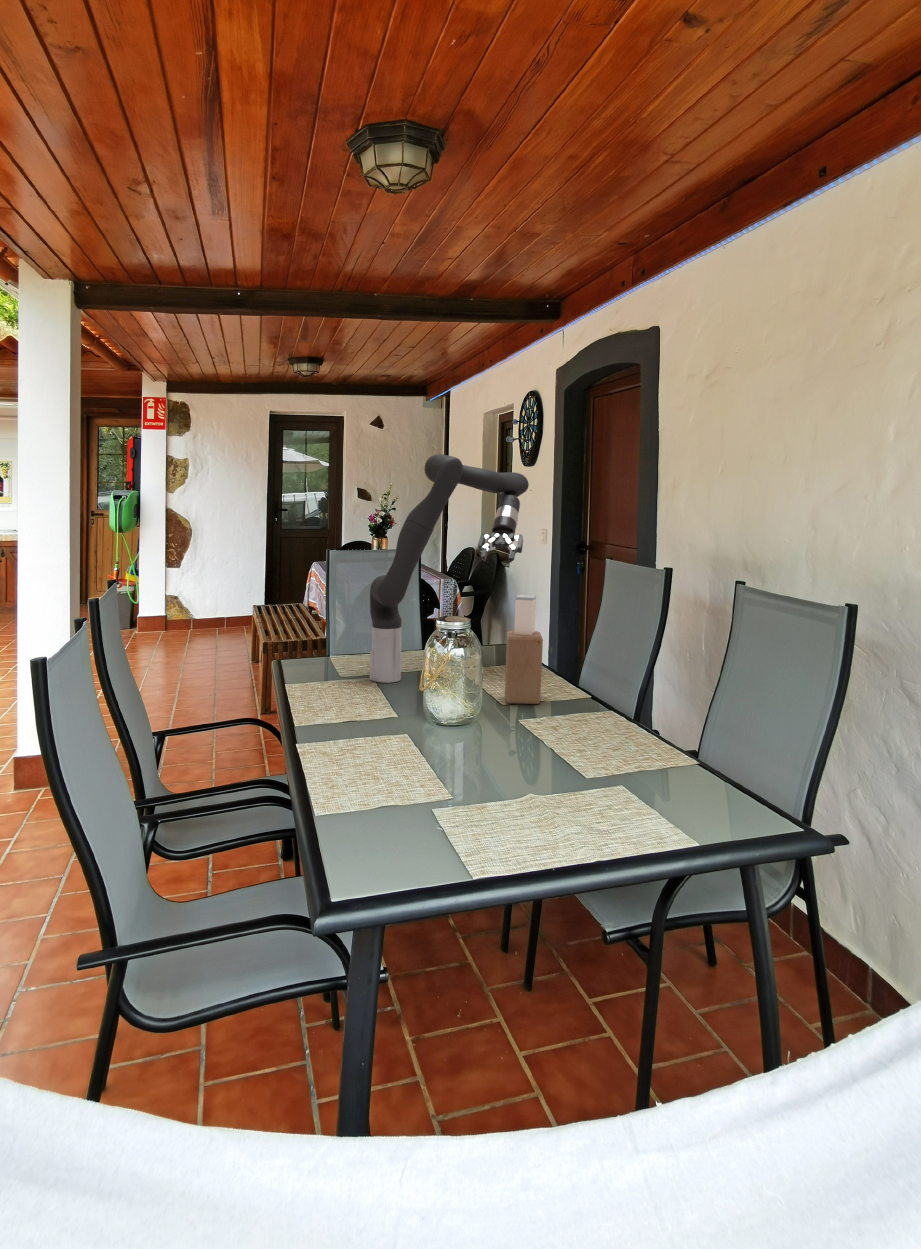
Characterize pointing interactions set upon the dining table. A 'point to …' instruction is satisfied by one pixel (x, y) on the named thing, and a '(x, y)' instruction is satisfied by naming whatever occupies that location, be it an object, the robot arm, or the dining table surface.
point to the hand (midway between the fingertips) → (496, 560)
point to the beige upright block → (525, 614)
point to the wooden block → (523, 668)
